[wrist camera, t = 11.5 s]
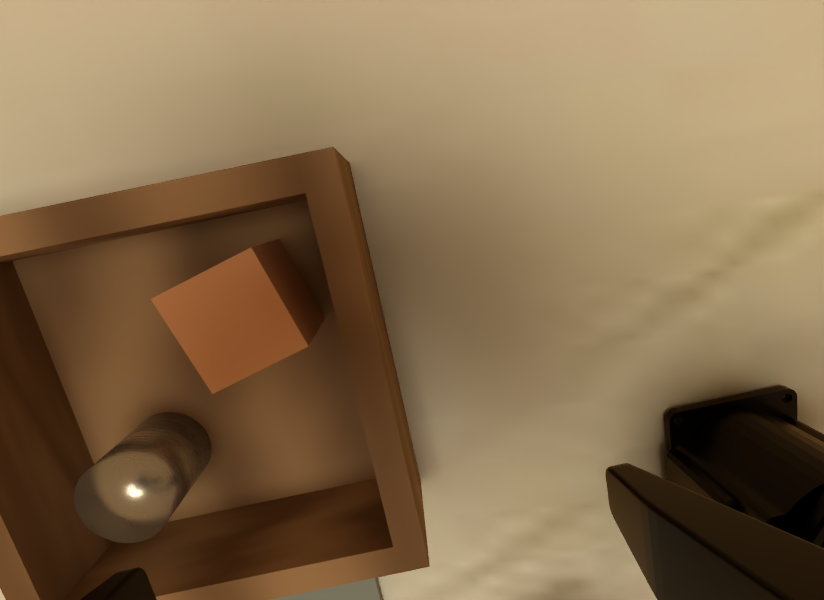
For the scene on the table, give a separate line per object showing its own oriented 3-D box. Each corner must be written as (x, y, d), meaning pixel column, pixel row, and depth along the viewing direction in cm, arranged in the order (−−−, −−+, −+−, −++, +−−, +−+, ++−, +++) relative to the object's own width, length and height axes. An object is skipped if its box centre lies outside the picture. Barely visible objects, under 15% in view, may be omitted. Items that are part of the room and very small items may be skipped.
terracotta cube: (279, 238, 19) (250, 247, 15) (324, 318, 20) (308, 346, 16) (199, 280, 19) (150, 299, 15) (247, 357, 20) (212, 394, 16)
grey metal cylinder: (198, 404, 21) (153, 451, 17) (221, 472, 21) (183, 532, 17) (122, 420, 21) (59, 471, 17) (147, 487, 21) (93, 551, 17)
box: (349, 163, 19) (333, 146, 14) (420, 481, 23) (429, 566, 17) (-11, 237, 19) (-165, 250, 14) (115, 544, 23) (30, 650, 17)
